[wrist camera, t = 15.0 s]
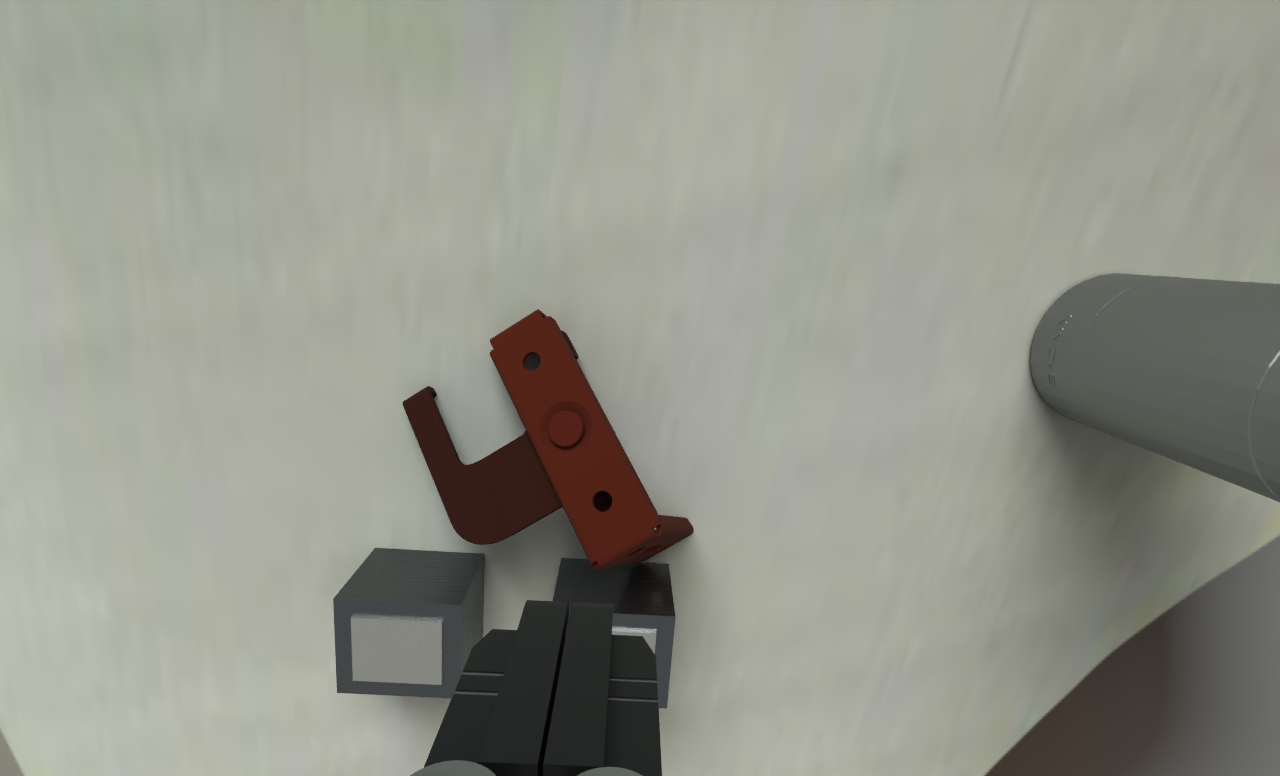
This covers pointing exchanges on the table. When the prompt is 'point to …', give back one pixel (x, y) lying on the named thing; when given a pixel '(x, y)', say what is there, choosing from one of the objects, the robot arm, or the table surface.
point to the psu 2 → (627, 604)
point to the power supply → (408, 622)
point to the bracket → (546, 458)
